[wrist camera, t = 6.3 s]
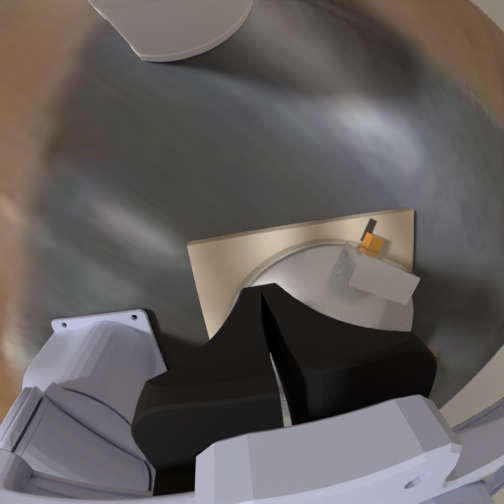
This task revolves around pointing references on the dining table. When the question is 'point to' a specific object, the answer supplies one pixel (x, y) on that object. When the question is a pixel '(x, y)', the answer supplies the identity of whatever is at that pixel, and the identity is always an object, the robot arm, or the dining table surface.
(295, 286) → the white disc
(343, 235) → the nut base
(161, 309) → the dining table surface
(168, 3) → the jar
